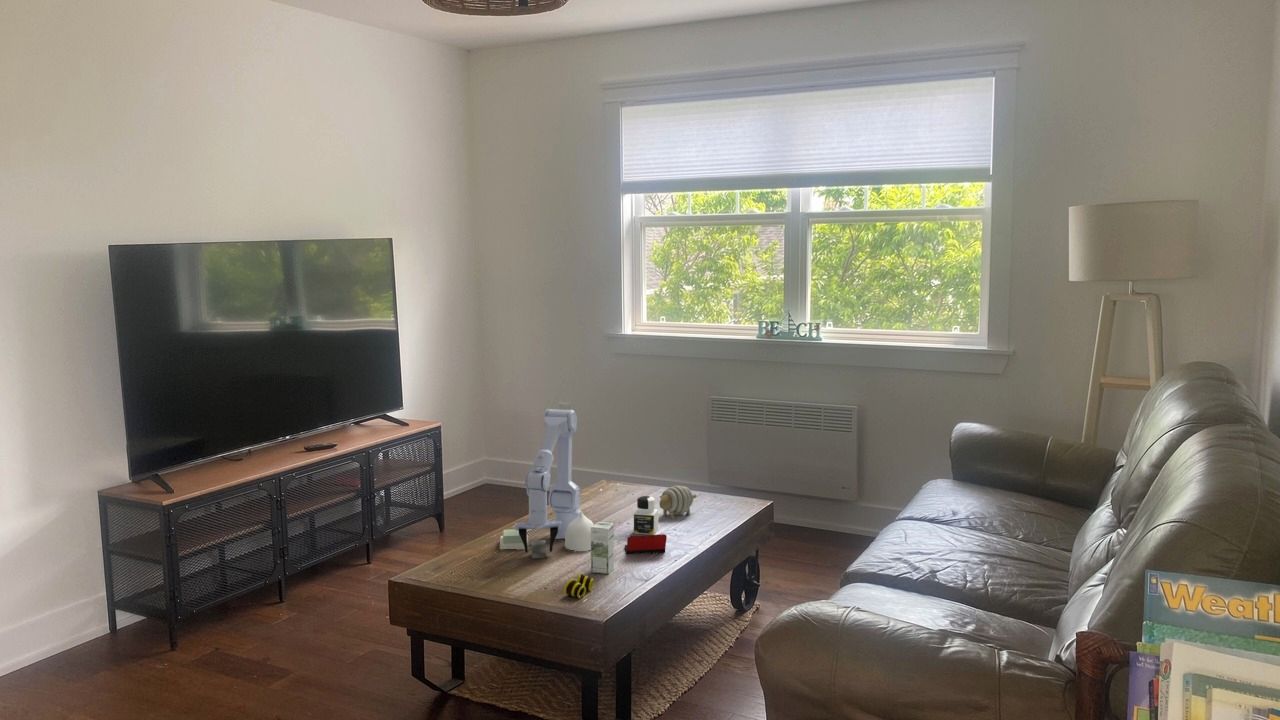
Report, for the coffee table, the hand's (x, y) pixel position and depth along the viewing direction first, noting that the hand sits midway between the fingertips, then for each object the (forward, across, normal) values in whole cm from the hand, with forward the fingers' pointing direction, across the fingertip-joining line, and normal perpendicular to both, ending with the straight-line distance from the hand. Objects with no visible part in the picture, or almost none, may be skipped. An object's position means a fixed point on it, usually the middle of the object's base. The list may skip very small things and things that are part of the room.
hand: (538, 551), depth 283 cm
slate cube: (+2, 0, 0) cm, 2 cm away
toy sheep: (+2, +51, +38) cm, 64 cm away
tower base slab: (+2, -8, +12) cm, 15 cm away
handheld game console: (+2, +34, 0) cm, 34 cm away
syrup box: (+2, +19, -16) cm, 25 cm away
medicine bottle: (+2, +37, +21) cm, 43 cm away
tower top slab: (0, -8, +12) cm, 14 cm away
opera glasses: (+2, +11, -33) cm, 35 cm away
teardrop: (+2, +14, +8) cm, 16 cm away
